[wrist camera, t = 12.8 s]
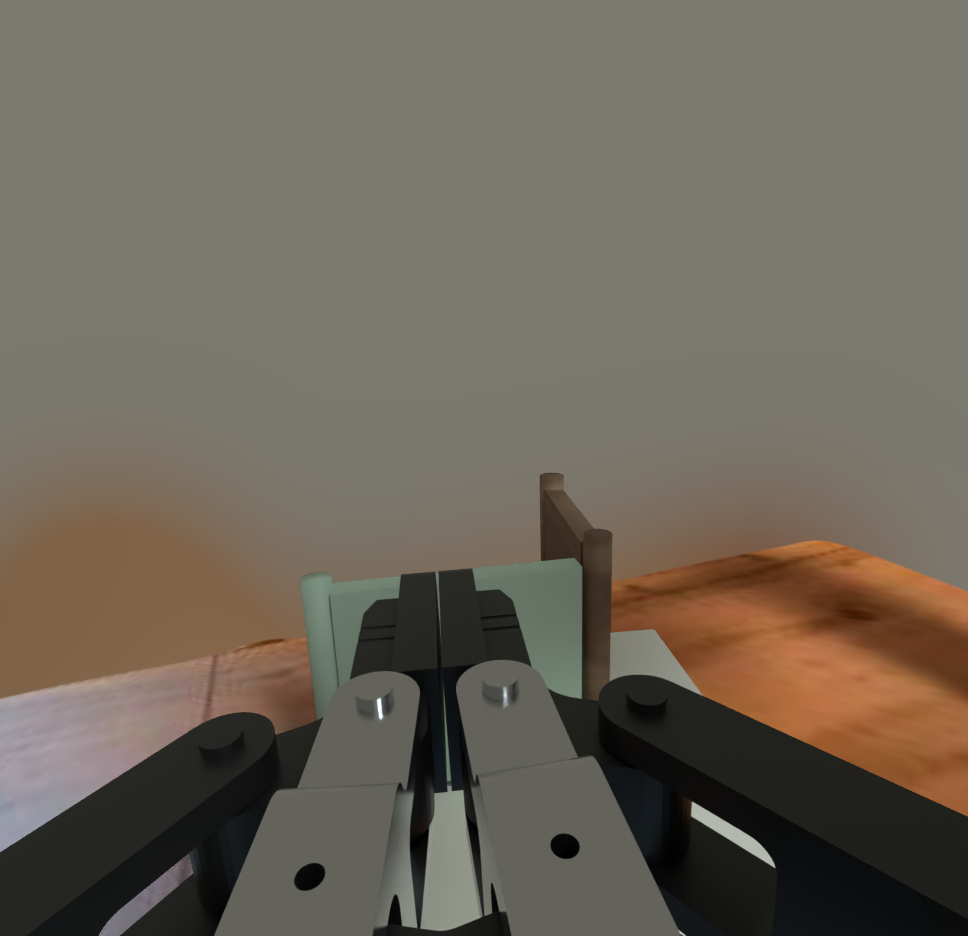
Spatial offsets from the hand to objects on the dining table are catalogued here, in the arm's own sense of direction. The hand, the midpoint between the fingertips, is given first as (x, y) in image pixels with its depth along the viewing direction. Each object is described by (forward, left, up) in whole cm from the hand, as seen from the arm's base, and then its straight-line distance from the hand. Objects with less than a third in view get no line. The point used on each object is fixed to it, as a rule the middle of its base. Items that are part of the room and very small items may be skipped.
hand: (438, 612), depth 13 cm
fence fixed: (-8, -21, -17) cm, 29 cm away
